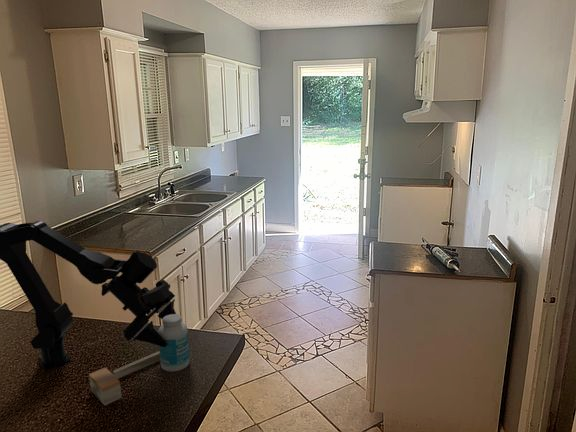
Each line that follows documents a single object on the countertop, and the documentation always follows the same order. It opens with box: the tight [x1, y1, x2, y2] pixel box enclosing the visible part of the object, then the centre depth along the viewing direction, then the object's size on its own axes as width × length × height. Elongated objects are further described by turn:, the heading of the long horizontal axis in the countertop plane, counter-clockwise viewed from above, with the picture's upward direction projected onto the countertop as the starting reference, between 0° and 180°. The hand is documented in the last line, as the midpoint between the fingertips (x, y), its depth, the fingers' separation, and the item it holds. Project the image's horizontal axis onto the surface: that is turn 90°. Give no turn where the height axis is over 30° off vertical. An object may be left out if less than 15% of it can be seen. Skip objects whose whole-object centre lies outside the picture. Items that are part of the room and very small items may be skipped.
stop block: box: [88, 366, 123, 406], centre depth 103 cm, size 8×4×4 cm, turn 45°
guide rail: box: [112, 350, 160, 380], centre depth 114 cm, size 1×14×2 cm, turn 135°
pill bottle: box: [157, 313, 190, 373], centre depth 114 cm, size 8×7×14 cm
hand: (174, 336), depth 113 cm, fingers open, 9 cm apart
